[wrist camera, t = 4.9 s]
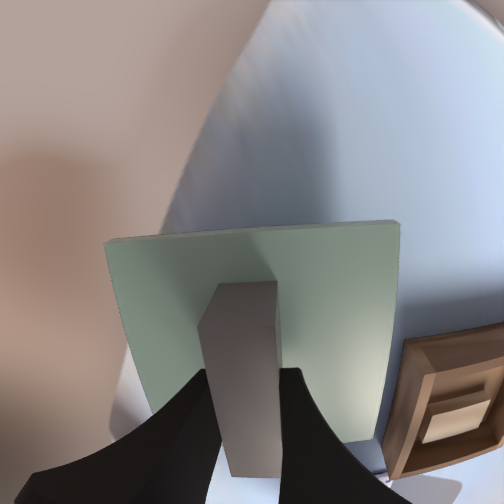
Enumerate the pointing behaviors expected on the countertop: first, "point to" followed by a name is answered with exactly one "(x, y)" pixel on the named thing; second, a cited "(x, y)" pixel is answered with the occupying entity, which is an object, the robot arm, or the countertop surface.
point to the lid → (263, 324)
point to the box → (446, 401)
